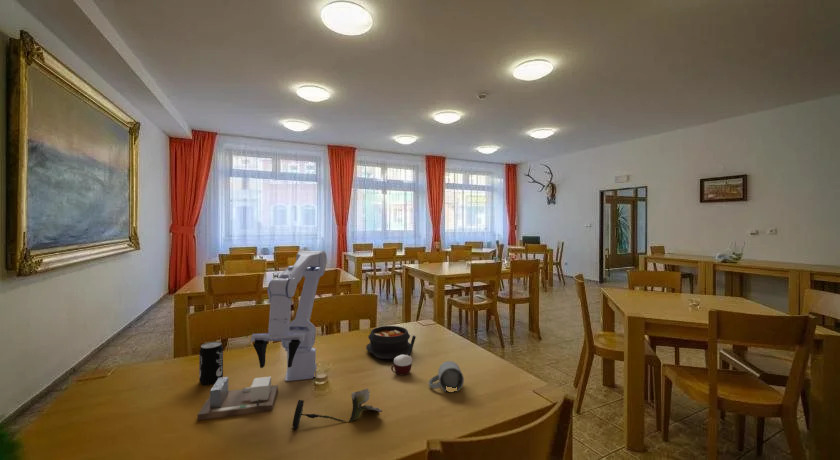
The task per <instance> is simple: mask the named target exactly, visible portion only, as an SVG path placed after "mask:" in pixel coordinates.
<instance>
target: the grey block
mask: <svg viewBox="0 0 840 460" xmlns="http://www.w3.org/2000/svg"><path fill="white" fill-rule="evenodd" d="M228 391H229V376H223V377H222V378H218V380H217V381H216V383H215V384H213V386H212V387H211V389H210V390H209V396H210V409H217V408H221V406H222V404H223V403H224V401H225V399H226V397H227V395H228Z"/></svg>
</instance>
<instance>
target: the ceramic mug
mask: <svg viewBox="0 0 840 460" xmlns="http://www.w3.org/2000/svg"><path fill="white" fill-rule="evenodd" d="M464 381H465V377H464V374H463V372H462V370H461V368H460V366H459V365H458V364H457V363H456V362H455V361H453V360H448V361H447V360H446V361H444V362H443V363H441V364H440V366H439V368H438V374H437V375H435V376H433V377H431V378H430V380H429V381H428V385H429V388H430V387H431V388H433V390H436V389H438V388H441V389H442V390H443V392H446V391H447V390H446V386H447V387H452V388H456V387H457V392H459V391H460V390H461V389H462V388H463V386H464ZM433 382H434V383H433ZM431 388H430V389H431ZM458 390H459V391H458Z"/></svg>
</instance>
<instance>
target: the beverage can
mask: <svg viewBox="0 0 840 460" xmlns="http://www.w3.org/2000/svg"><path fill="white" fill-rule="evenodd" d="M222 344H223V343H222V342H221V341H210V342H208V341H207V342H205V343H203V344H201V345H200V349H199V352H198V353H199V355H198V358H199V360H198V361H199V362H198V363H199V370H198V371H199V372H198V373H199V377H198V379H199V380H198V381H199V383H200V384H201V385H204V386H205V385H206V386H207V385H208V386H210V385H214V384H215V383H216V381H217V380H218V378H222V377H224V346H223V345H222Z"/></svg>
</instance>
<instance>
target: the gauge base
mask: <svg viewBox="0 0 840 460" xmlns="http://www.w3.org/2000/svg"><path fill="white" fill-rule="evenodd" d="M278 389H279V387H278V385H277V384H276V385H271V392H270V395H269V398H268V400H261V401H260V403H259V405H257V402H258V401H253V402H251V393H243V392H242V391H243V388H242V389H232V390H228V395H227V397H226V399H225V401H224V403H223V404H222V406H221V408H217V409H210V395H209V396H208V398H207V399H206V401H205V402H204V404H203V406H202V407H201V409H200V410H199V411H198V413H197V421H202V420H211V419H216V418H225V417H233V416H238V415H239V416H240V415H247V414H254V413H255V414H256V413H261V412H262V413H263V412H264V413H265V412H268V411H269V412H270V411H271V412H272V411H273V409H274V406H275V401H276V398H277V394H278Z"/></svg>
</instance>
